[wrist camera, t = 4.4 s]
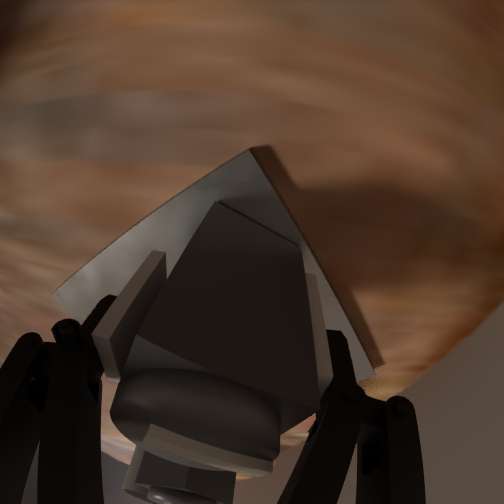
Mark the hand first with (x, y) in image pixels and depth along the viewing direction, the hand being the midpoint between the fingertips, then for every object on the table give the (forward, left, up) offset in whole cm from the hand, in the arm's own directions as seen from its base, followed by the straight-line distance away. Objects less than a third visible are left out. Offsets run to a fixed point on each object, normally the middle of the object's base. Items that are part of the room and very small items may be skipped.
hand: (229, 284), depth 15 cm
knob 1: (0, 0, -2) cm, 2 cm away
